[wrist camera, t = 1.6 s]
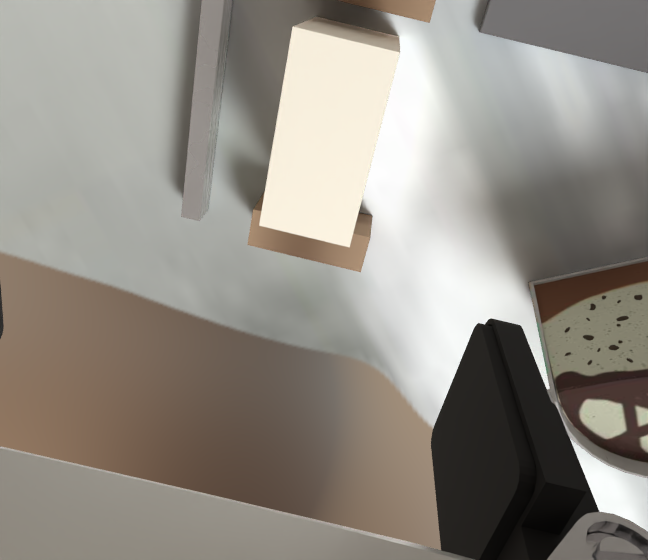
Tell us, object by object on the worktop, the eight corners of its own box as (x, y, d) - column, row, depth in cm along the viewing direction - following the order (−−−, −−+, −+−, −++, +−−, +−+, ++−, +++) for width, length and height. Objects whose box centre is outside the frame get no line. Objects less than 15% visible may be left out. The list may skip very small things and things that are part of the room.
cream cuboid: (399, 36, 27) (400, 52, 20) (358, 193, 30) (349, 247, 24) (316, 16, 27) (292, 26, 20) (286, 176, 30) (259, 225, 24)
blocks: (439, -30, 25) (444, -32, 22) (363, 248, 32) (360, 272, 29) (220, -83, 25) (199, -91, 22) (190, 206, 32) (172, 226, 29)
